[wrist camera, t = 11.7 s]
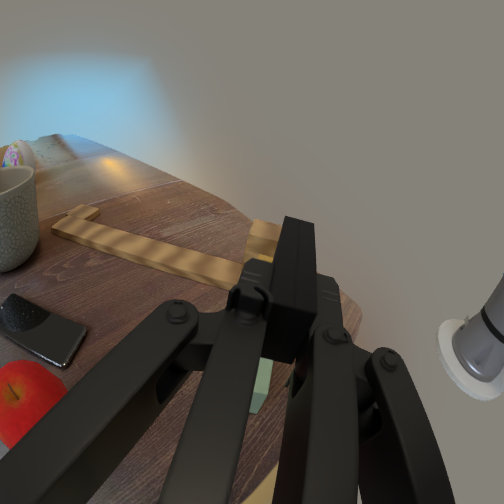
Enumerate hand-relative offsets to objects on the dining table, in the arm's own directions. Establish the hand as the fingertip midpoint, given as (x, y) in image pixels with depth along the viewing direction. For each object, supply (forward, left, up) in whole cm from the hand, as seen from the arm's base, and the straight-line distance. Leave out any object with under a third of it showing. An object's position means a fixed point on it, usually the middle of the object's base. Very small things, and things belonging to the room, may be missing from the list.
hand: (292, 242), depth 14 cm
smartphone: (+28, -1, -23) cm, 36 cm away
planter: (+47, -11, -23) cm, 53 cm away
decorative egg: (+79, -38, -23) cm, 90 cm away
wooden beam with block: (+21, -27, -23) cm, 41 cm away
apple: (+16, +10, -23) cm, 30 cm away
